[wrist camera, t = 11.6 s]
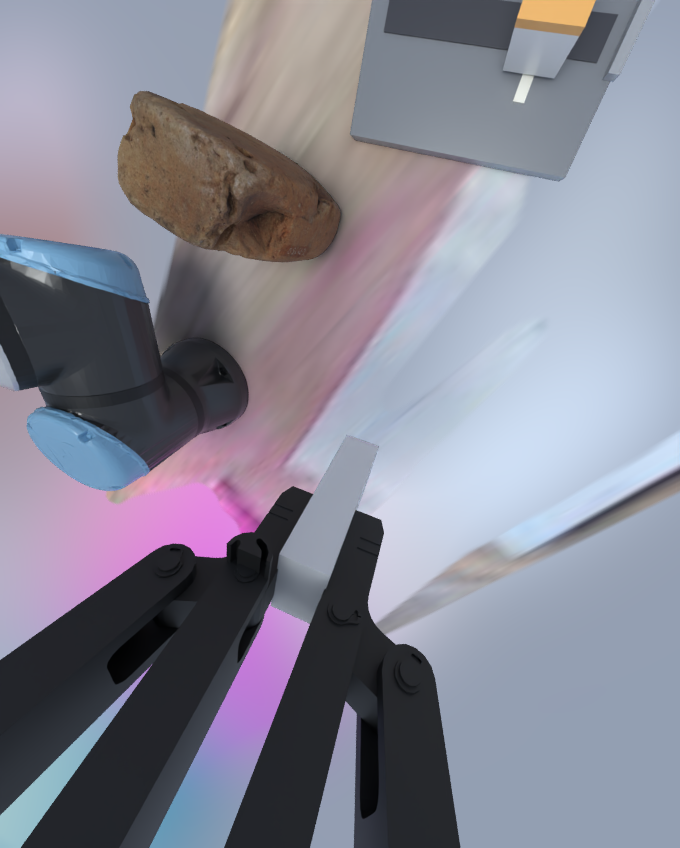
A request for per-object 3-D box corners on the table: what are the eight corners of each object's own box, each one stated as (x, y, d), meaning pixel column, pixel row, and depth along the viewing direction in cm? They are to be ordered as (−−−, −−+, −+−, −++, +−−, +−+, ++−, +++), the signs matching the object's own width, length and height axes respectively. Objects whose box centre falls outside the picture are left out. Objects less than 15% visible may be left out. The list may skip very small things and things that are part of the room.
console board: (355, 140, 32) (345, 129, 29) (403, -137, 24) (396, -192, 21) (561, 181, 29) (573, 174, 26) (701, -119, 21) (743, -181, 18)
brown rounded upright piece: (251, 215, 39) (99, 192, 22) (275, 144, 35) (110, 50, 18) (324, 268, 39) (227, 285, 22) (356, 204, 35) (267, 167, 18)
